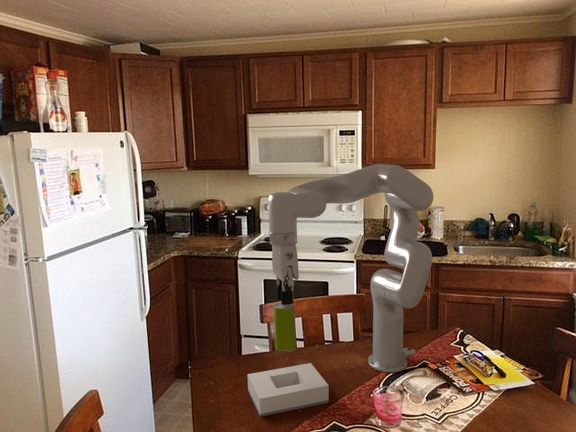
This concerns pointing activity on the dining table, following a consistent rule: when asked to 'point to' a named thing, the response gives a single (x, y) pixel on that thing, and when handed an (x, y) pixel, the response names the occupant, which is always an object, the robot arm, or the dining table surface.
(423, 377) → the dining table surface
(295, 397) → the charging dock
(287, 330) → the vape
